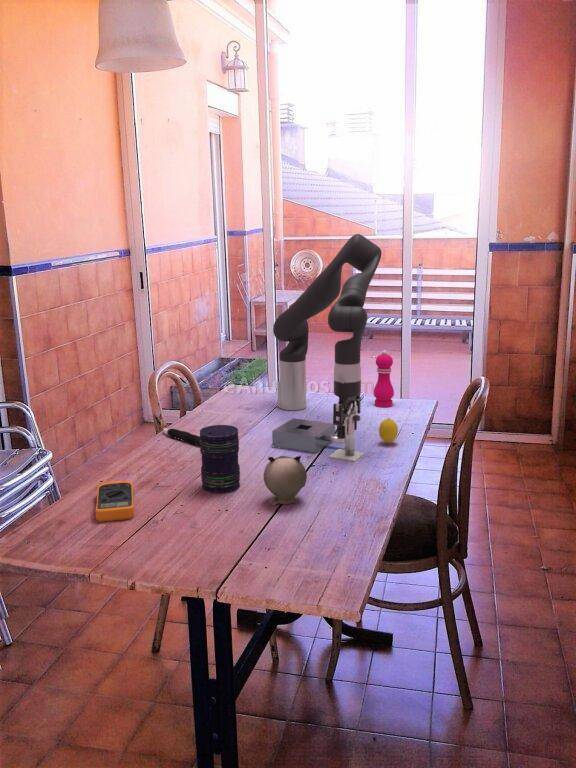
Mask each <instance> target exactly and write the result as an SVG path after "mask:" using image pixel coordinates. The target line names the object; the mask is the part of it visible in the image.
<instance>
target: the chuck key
mask: <svg viewBox="0 0 576 768" xmlns="http://www.w3.org/2000/svg"><path fill="white" fill-rule="evenodd" d="M343 419H344V418H343ZM354 421H357V422H360V421H361V415H359V414H358V415H354V413H350V415H349V418H348V419H347V420H346V424H345V443H344V450H345V456H354V455H355V450H356V449H355V442H356V441H355V439H356V438H355V431H354Z"/></svg>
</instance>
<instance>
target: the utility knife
mask: <svg viewBox="0 0 576 768" xmlns="http://www.w3.org/2000/svg"><path fill="white" fill-rule="evenodd" d="M162 430H163V432H164V433H165V432H166V433H165V434H167V435H168V436H169V435H170V436H172V437H176V438H179V439H182V440H184V441H183V442H185V441H187V442H186V443H188V442H190V443H189V444H191V443H193V444H192V445H194V444H196V445H195V446H198V445H199V447H200V436H199V435H196V434H194V433H190V432H188V431H186V430H180V429H176V428H167V426H166V427H164V428H162ZM170 436H169V437H170ZM172 437H171V438H172ZM179 439H178V440H179ZM182 440H181V441H182Z"/></svg>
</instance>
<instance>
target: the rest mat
mask: <svg viewBox="0 0 576 768" xmlns="http://www.w3.org/2000/svg"><path fill="white" fill-rule="evenodd" d="M365 454H366V453H365V452H362V451H355V455H354V456H345V449H343V448H338V449H337V450H336V451H334V452H332V453H331V454H330V455H329V456H328V457H329V458H331V459H335V460H336V459H337V460H341V461H349V462H357V461H358V460H359V459H361V457H363V456H364V455H365Z"/></svg>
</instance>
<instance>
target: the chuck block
mask: <svg viewBox="0 0 576 768" xmlns="http://www.w3.org/2000/svg"><path fill="white" fill-rule="evenodd" d="M271 432H272V434H271V436H272V437H271V439H272V440H271V441H272V442H271V443H272V447H273V446H274V448H277V447H280V448H279V449H284V448H287V449H286V450H290V449H293V450H292V451H297V450H300V451H299V452H303V451H306V452H305V453H309V452H313V453H312V454H316V452H317V451H318V452H319V451H321V450H322V449H324V448H325V447H326V446H328V445H329V444H331V443H337V444H338V443H339V444H344V445H345V438H344V439H339V438H337V435H336V425H333V422H332V423H330V422H326V421H325V422H324V421H318V420H317V421H316V420H310V419H301V418H292V419H290V420H288V421H286V422H285V423H282V425H279V426H278V427H276V428H274V429H272V431H271ZM320 449H321V450H320ZM318 452H317V453H318Z"/></svg>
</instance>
